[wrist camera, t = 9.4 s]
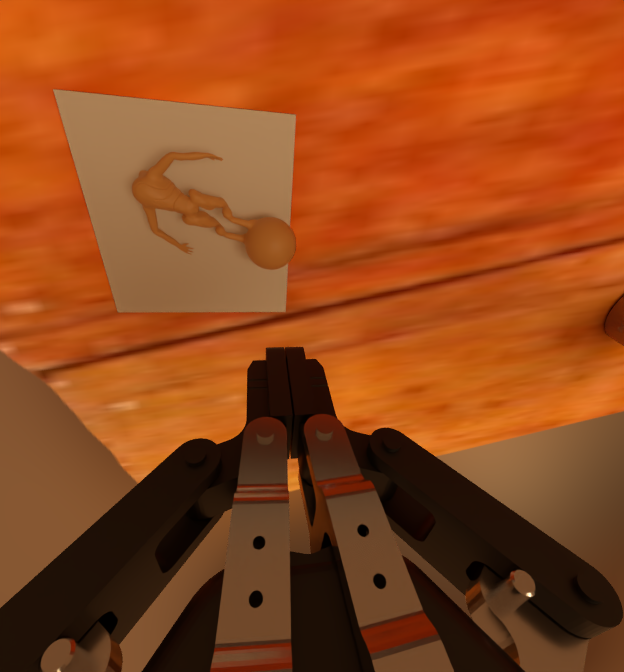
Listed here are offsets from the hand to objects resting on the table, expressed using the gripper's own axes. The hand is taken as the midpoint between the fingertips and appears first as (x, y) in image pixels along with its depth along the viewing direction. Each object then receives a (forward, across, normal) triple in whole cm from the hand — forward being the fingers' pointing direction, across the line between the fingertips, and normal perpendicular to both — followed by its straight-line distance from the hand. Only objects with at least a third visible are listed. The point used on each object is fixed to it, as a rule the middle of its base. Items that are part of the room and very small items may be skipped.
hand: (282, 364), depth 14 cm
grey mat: (+18, +6, 0) cm, 19 cm away
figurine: (+13, -2, +2) cm, 14 cm away
